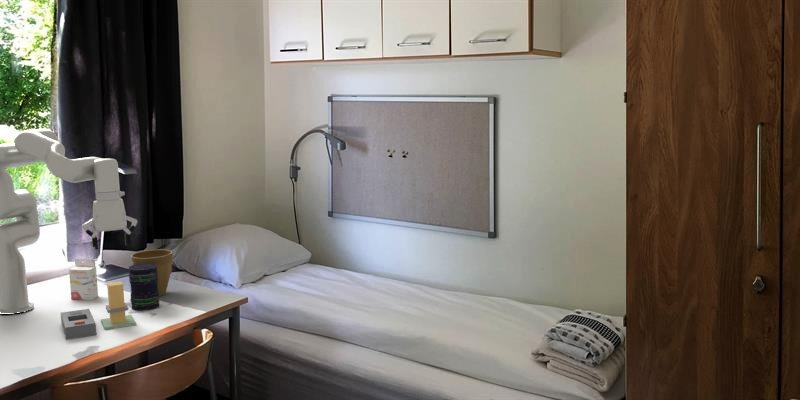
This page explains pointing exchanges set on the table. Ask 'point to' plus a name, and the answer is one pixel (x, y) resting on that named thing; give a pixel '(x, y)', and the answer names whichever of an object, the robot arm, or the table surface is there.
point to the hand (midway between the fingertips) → (111, 247)
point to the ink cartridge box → (83, 280)
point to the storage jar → (144, 286)
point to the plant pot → (163, 265)
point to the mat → (109, 325)
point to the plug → (116, 302)
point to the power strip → (78, 324)
